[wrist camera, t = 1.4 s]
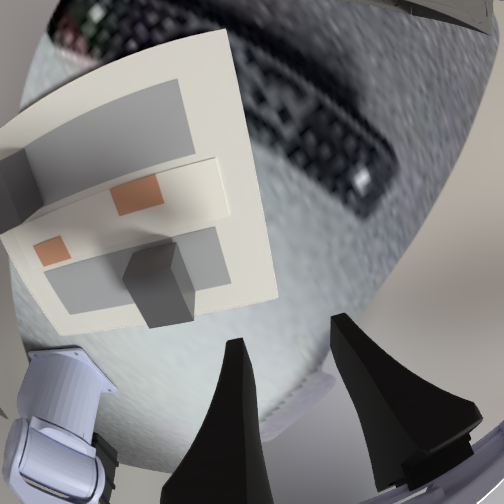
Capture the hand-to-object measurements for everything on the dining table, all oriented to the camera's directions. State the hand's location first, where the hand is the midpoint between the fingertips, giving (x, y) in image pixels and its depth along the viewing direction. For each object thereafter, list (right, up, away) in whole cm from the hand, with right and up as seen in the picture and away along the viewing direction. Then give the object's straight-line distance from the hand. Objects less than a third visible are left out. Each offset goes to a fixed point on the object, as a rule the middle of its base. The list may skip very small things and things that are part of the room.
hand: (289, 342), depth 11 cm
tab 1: (-17, +8, +2) cm, 19 cm away
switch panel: (-11, +6, +6) cm, 14 cm away
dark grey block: (-7, +2, +6) cm, 10 cm away
